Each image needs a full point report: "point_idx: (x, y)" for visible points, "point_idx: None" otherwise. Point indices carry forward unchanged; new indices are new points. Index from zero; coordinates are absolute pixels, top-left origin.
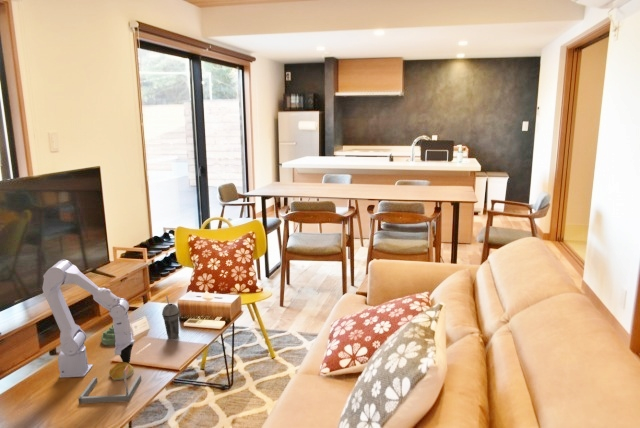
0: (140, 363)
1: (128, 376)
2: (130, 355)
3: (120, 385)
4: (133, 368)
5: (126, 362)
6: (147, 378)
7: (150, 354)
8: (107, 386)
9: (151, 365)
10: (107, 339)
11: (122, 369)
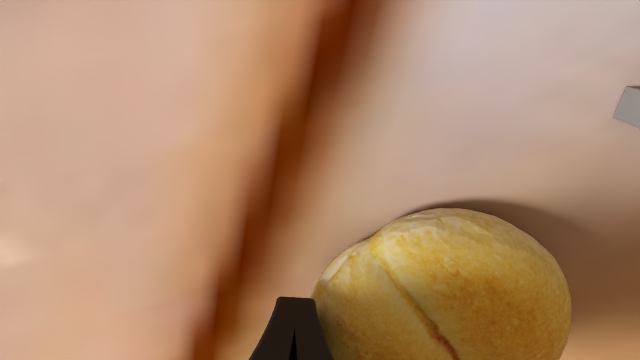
0: (238, 175)
1: (527, 235)
2: (265, 347)
3: (626, 263)
4: (416, 225)
5: (342, 330)
6: (626, 13)
7: (18, 103)
8: (587, 349)
9: (305, 28)
10: None
11: (543, 340)
